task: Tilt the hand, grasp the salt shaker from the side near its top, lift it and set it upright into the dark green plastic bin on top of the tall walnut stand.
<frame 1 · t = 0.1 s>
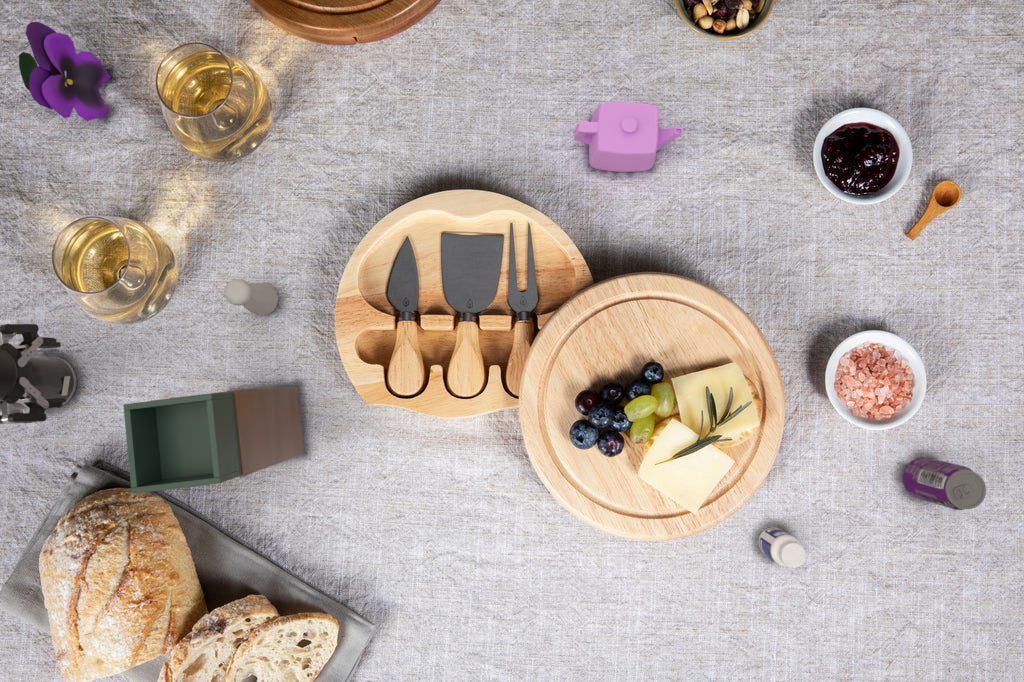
hand: (58, 373, 102), 17 cm above the table, tool pointing down, fingers open, 8 cm apart
salt shaker: (266, 300, 120), on the table
pill bottle: (772, 541, 116), on the table
beverage can: (919, 477, 116), on the table
teapot: (622, 145, 120), on the table
flower: (76, 94, 122), on the table
bin: (196, 438, 92), resting on stand
stand: (268, 423, 118), on the table
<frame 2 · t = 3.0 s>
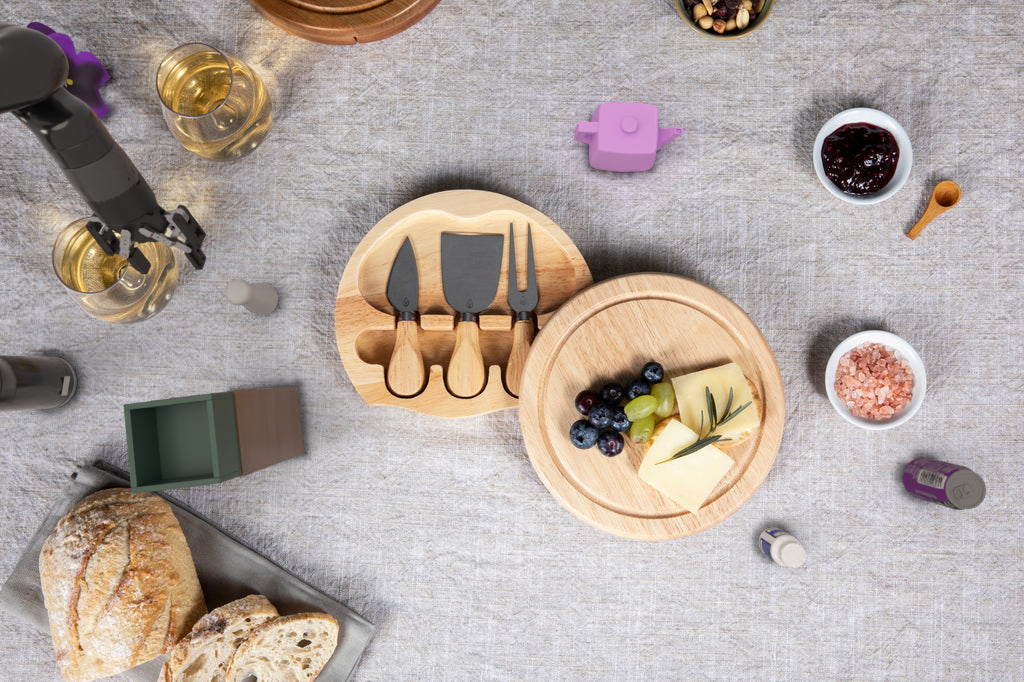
hand: (174, 268, 98), 22 cm above the table, tool tilted 35°, fingers open, 8 cm apart
nothing on the table moved.
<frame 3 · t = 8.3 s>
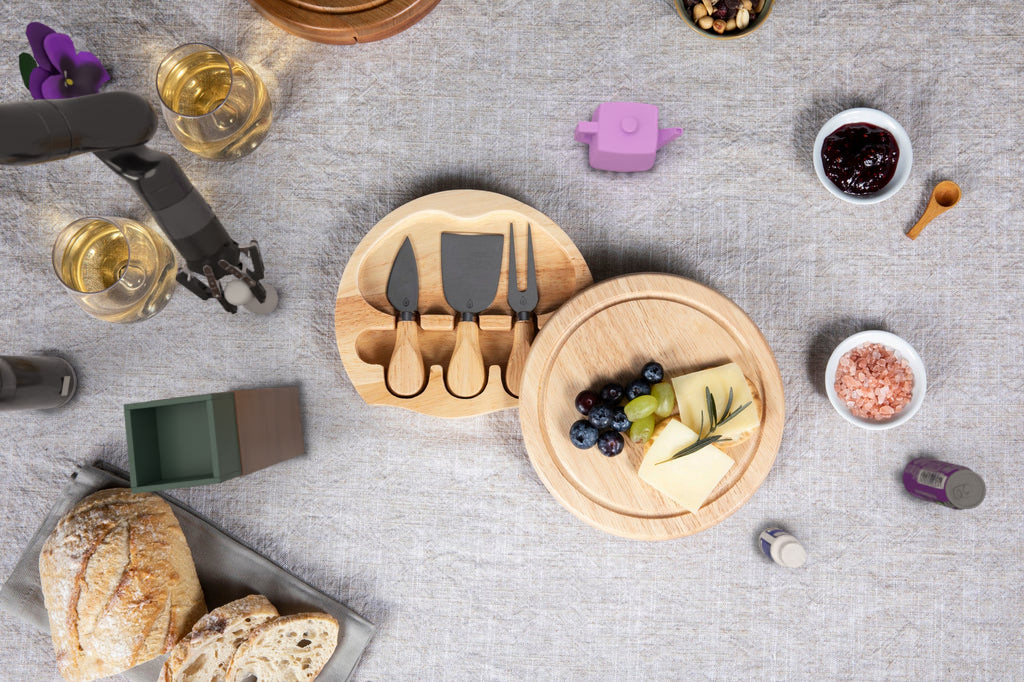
hand: (249, 305, 110), 9 cm above the table, tool tilted 45°, fingers closed on salt shaker, 4 cm apart
salt shaker: (266, 300, 120), on the table, touching gripper
everything else where it was.
when the fingers open (36 cm above the table, at t = 18.9 s): salt shaker stays where it is, resting on bin.
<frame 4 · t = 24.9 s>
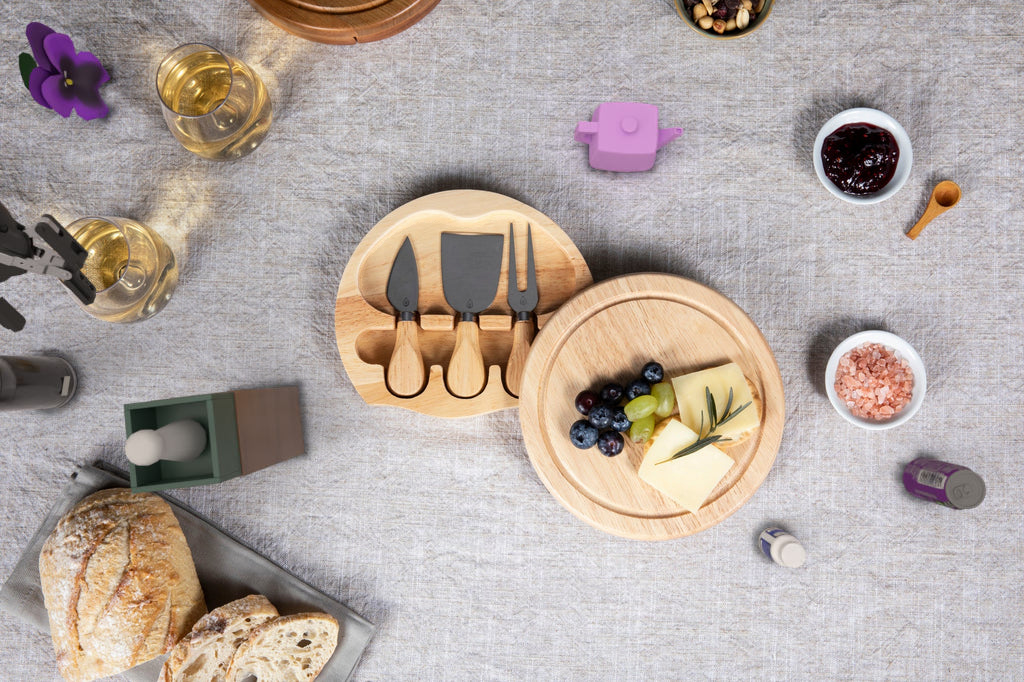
hand: (56, 313, 76), 44 cm above the table, tool tilted 45°, fingers open, 8 cm apart
salt shaker: (193, 438, 92), point 26 cm above the table, touching bin
everything else where it was.
at the end: salt shaker inside the target area on the bin (0.2 cm from its centre), point 0.4 cm above the bin's base; salt shaker tilted 0°; the gripper is holding nothing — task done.
